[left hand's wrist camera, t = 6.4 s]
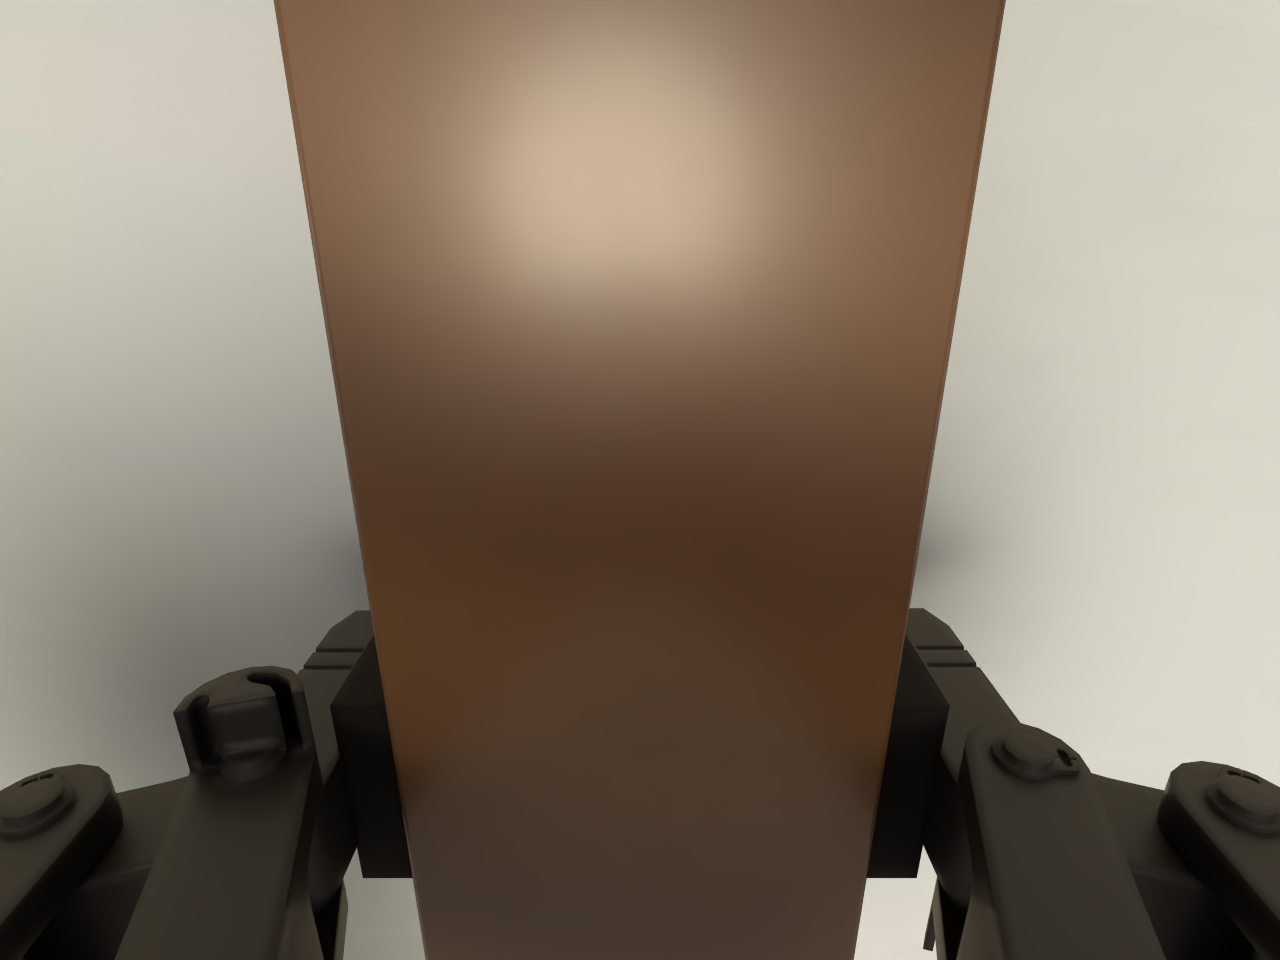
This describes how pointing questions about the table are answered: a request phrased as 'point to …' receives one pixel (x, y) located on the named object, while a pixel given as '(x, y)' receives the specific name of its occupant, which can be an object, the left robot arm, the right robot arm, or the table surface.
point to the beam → (639, 438)
